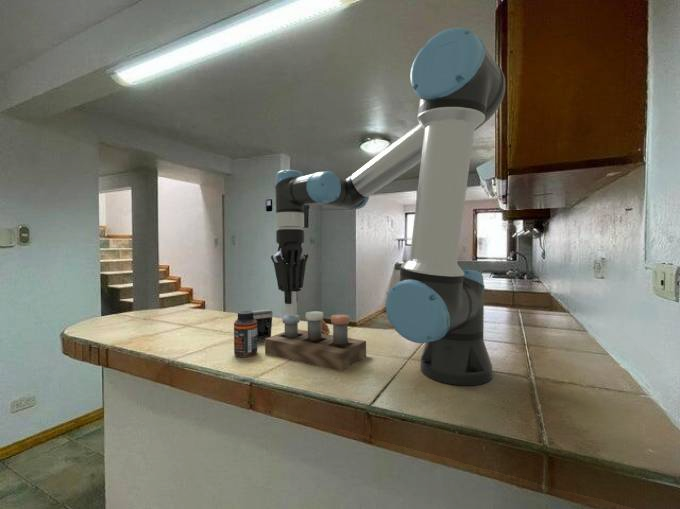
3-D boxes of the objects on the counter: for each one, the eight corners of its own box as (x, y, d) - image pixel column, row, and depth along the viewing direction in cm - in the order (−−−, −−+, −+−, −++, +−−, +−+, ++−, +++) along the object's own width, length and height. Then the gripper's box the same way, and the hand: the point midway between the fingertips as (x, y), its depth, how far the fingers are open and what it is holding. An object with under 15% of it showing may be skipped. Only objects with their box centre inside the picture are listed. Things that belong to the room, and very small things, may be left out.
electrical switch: (270, 336, 104) (270, 307, 103) (274, 342, 100) (275, 312, 98) (239, 340, 100) (239, 310, 99) (243, 346, 95) (243, 315, 94)
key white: (326, 336, 86) (326, 312, 86) (316, 341, 82) (316, 315, 82) (312, 334, 89) (312, 310, 89) (302, 338, 85) (301, 313, 85)
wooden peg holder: (366, 356, 84) (366, 340, 84) (341, 371, 74) (341, 353, 74) (294, 342, 97) (294, 328, 97) (265, 353, 87) (264, 338, 87)
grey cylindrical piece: (303, 339, 91) (302, 315, 90) (292, 343, 87) (292, 319, 87) (290, 336, 93) (290, 314, 93) (279, 340, 89) (279, 317, 89)
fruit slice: (325, 341, 97) (325, 325, 97) (304, 340, 99) (304, 324, 99) (332, 334, 106) (331, 319, 106) (312, 333, 107) (311, 318, 107)
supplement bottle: (229, 355, 85) (228, 312, 85) (245, 349, 91) (244, 308, 90) (246, 359, 83) (245, 314, 82) (262, 352, 88) (261, 310, 88)
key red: (353, 341, 82) (352, 315, 82) (343, 346, 78) (343, 319, 78) (337, 338, 84) (337, 313, 84) (327, 343, 81) (327, 317, 80)
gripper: (295, 230, 97) (296, 309, 97) (262, 228, 86) (264, 318, 86) (315, 229, 93) (316, 312, 93) (284, 227, 82) (285, 321, 82)
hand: (291, 315), depth 90 cm, fingers closed
